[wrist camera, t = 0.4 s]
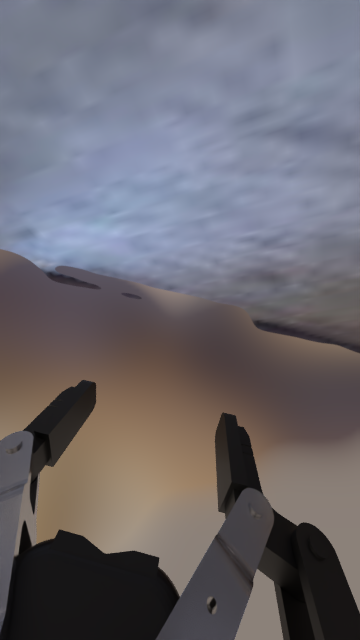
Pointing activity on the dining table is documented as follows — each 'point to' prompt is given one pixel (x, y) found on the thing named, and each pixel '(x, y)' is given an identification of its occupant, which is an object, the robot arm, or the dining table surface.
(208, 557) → the robot arm
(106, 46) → the dining table surface
